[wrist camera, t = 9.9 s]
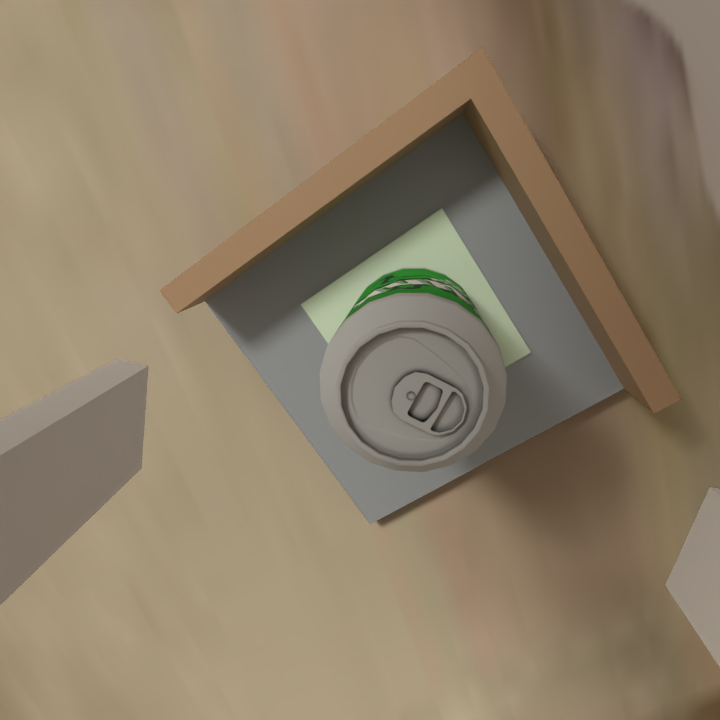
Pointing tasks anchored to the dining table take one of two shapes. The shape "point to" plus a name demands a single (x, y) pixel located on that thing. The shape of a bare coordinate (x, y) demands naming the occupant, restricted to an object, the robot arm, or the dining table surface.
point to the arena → (483, 241)
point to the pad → (419, 250)
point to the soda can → (413, 373)
